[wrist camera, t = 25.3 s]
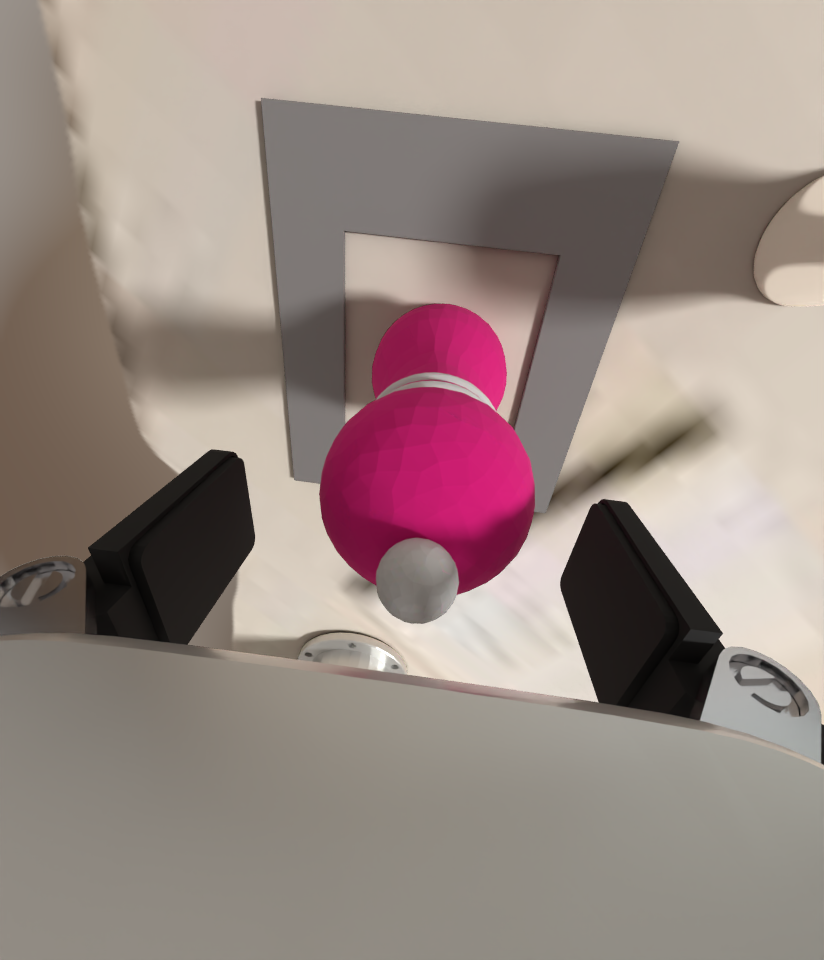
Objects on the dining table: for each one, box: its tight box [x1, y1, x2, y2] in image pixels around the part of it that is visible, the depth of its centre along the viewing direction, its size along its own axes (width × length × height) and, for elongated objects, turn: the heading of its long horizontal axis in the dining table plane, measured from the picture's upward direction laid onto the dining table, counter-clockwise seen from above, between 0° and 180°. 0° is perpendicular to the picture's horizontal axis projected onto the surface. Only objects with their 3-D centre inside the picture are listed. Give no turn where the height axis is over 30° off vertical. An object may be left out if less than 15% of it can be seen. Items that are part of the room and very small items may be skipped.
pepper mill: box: [319, 304, 535, 624], centre depth 16 cm, size 7×7×20 cm
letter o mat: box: [261, 98, 679, 513], centre depth 24 cm, size 22×20×1 cm
